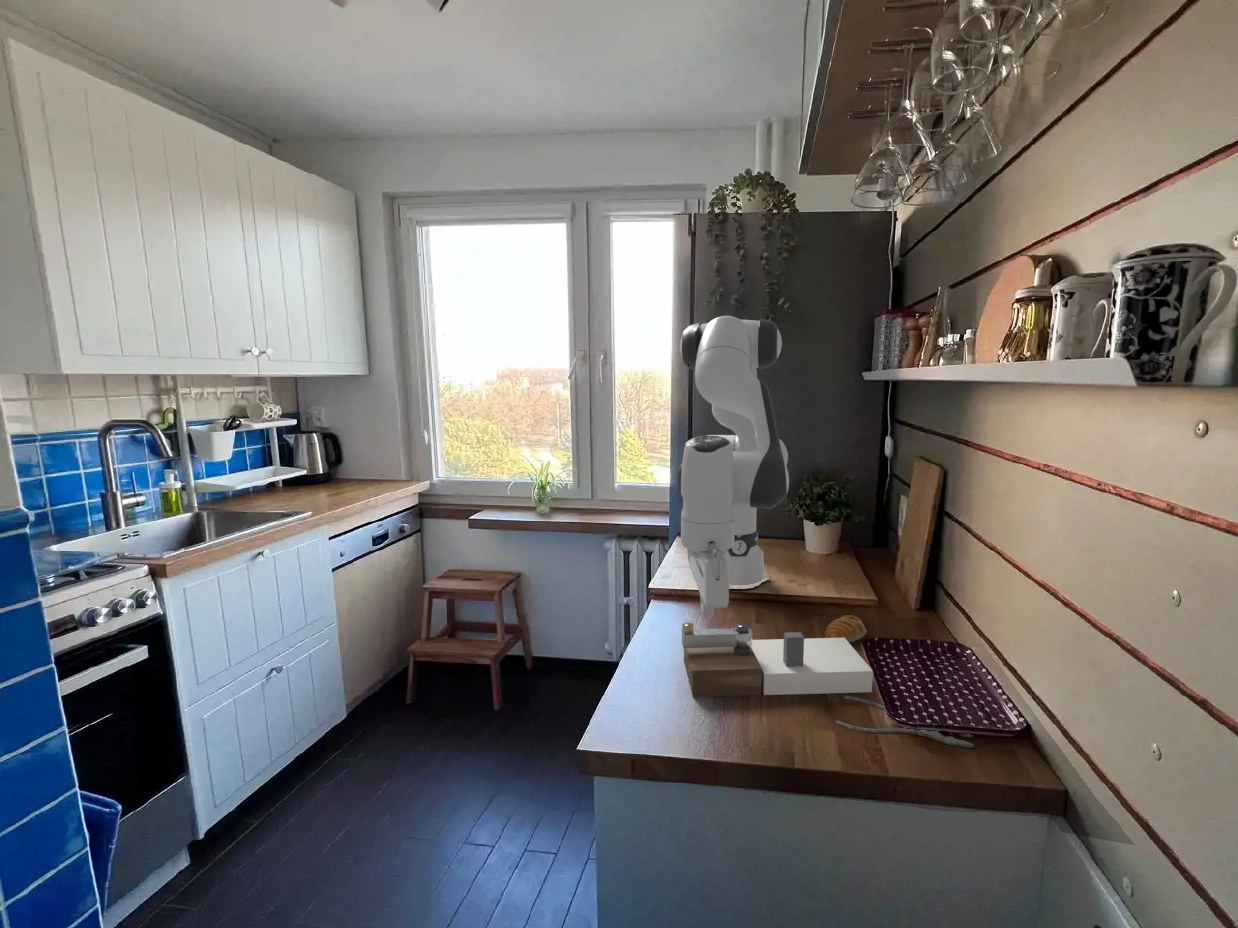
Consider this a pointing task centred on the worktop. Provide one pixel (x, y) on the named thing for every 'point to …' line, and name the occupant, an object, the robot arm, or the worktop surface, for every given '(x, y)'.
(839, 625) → the pastry
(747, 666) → the jamb block
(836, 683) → the door panel
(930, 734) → the pliers
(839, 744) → the worktop surface
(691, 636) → the lock bar
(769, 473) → the robot arm
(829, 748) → the worktop surface
